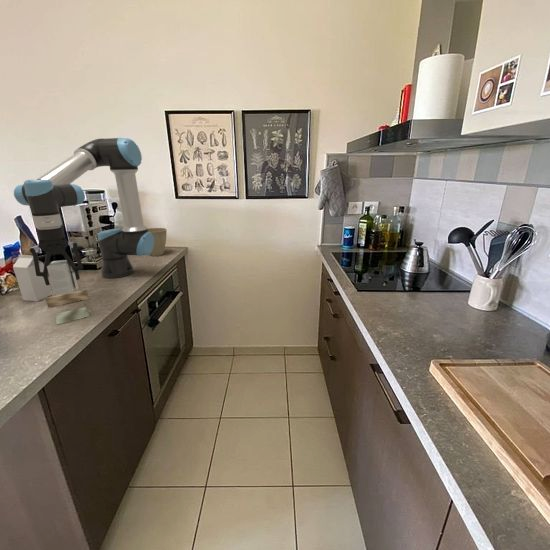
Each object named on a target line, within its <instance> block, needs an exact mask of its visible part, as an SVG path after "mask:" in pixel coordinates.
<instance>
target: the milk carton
mask: <svg viewBox="0 0 550 550" xmlns="http://www.w3.org/2000/svg"><path fill="white" fill-rule="evenodd" d="M38 261H39V267H40V272H43V270H44V262H43V261H41V260H39V259H38ZM12 268H13V271H14V274H15V275H14V276H15V278H16V280H17V284H18V287H19V291H20V293H21V297H22V300H23V301H27V302H39V301H41V300H44V299H45V298H48V297H52V295H53V294H52V290H51V287H50V285H46V284H45V280H44V277H42V276H36V271H35V265H34V259H33V255H32V254H31V255H29V254H28V255H27V254H18V258H17V259H16V261H15V263H14V265H12Z"/></svg>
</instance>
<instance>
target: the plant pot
mask: <svg viewBox="0 0 550 550" xmlns="http://www.w3.org/2000/svg"><path fill="white" fill-rule="evenodd" d="M147 229H148V232H150V233H152V234H153V236H154V247H153V250H152V252H151V253H150V254H149V255H150V256H152V257H159V256H162V255H164V252H165V249H166V242H167V228H164V227H153V228H151V227H150V228H147Z"/></svg>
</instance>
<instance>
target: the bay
mask: <svg viewBox="0 0 550 550" xmlns="http://www.w3.org/2000/svg"><path fill="white" fill-rule="evenodd" d="M88 295H89V294H88V291H87V289H83V290H76V291H73V292H72V293H66V294H59V295H54V296H52V295H51V296H49V297H46V298H44V299H45V302H46V305H47V309H50V308H54V307H53V306H55V307H59V306H63V305H62V304H64V305H68V304H72V302H73V303H77V302H81V301H80V300H82V301H86V300H89V296H88ZM85 299H86V300H85ZM76 301H77V302H76ZM67 303H68V304H67ZM58 305H59V306H58ZM49 307H50V308H49ZM89 316H90V314H89V311H88V309H87V306H84V307H80V308H75V309H71V310H68V311H67V310H66V311H62V312H58V313H55V320H56V324H57V326H59V325H63V324H66V323H65V322H67V323H70V322H69V321H71V322H73V320H75V321H78V320H77V319H79V320H81V318H83V319H85V318H84V317H87V318H90V317H89ZM62 323H63V324H62ZM58 324H59V325H58Z"/></svg>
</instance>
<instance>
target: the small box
mask: <svg viewBox="0 0 550 550" xmlns="http://www.w3.org/2000/svg"><path fill="white" fill-rule="evenodd" d="M47 270H48V275H49V277H50V280H51V284H52V288H53V291H54V294H53V295H54V296H57V295H62V294H67V293H72V292H74V291H75V289H76V287H75V283H74V279H73V275H72V271H74V270H73V269H72V267H71V266H70V264H69V263H68V262H67V260H66V259H62V260H53V261H50V263H49V265H48V266H47Z"/></svg>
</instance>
